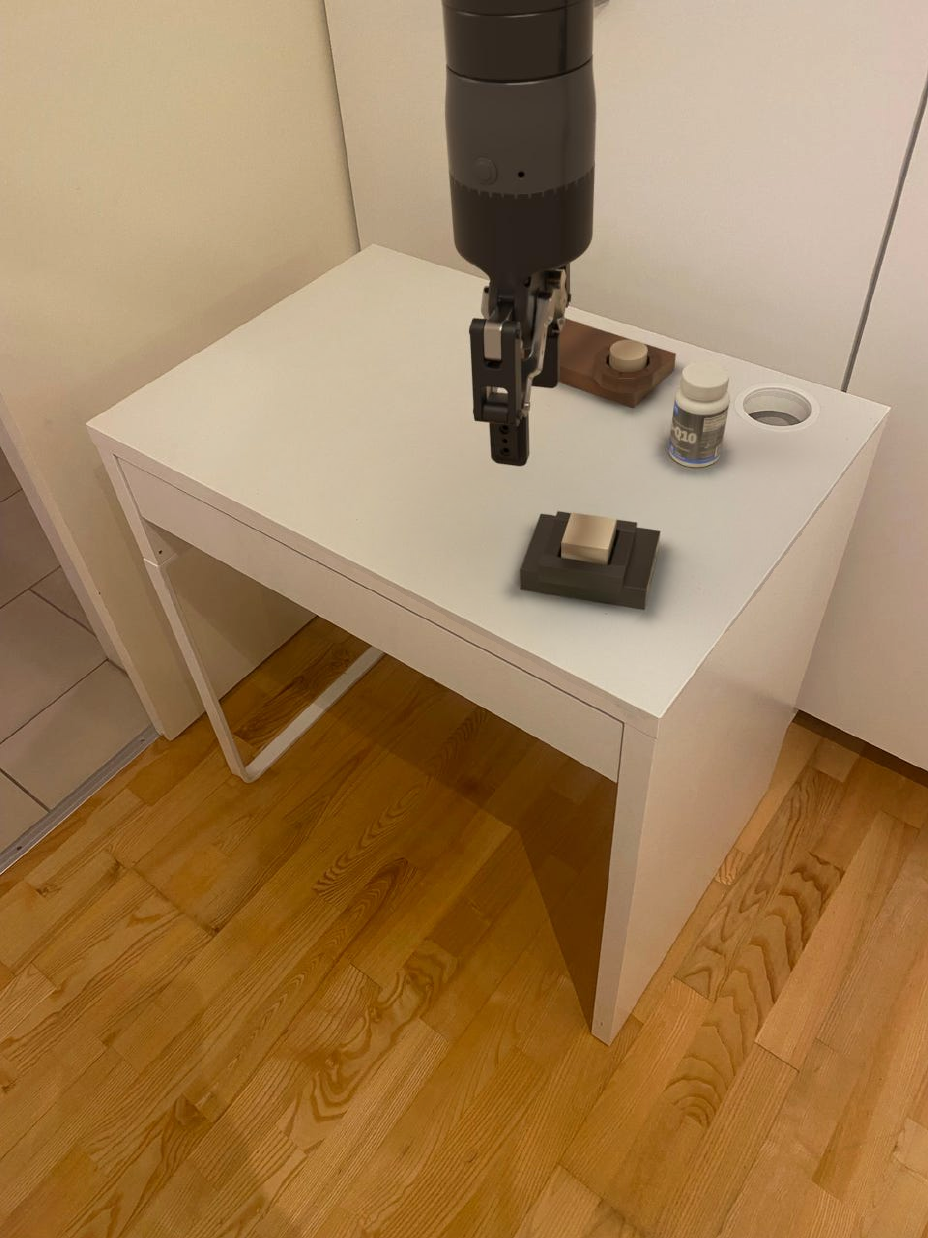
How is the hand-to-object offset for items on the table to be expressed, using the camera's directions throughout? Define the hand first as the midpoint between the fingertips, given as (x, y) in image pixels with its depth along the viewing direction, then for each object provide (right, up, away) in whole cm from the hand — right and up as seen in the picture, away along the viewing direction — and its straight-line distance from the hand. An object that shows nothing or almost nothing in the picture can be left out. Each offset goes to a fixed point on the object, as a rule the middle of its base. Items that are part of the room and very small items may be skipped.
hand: (527, 420), depth 61 cm
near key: (+6, -7, +14) cm, 17 cm away
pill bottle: (+17, +3, +27) cm, 32 cm away
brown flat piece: (+9, +14, +38) cm, 41 cm away
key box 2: (+6, -8, +18) cm, 20 cm away
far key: (+12, +12, +32) cm, 37 cm away
